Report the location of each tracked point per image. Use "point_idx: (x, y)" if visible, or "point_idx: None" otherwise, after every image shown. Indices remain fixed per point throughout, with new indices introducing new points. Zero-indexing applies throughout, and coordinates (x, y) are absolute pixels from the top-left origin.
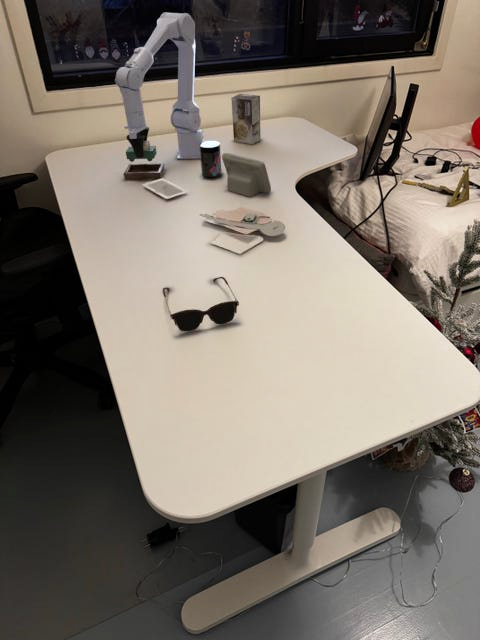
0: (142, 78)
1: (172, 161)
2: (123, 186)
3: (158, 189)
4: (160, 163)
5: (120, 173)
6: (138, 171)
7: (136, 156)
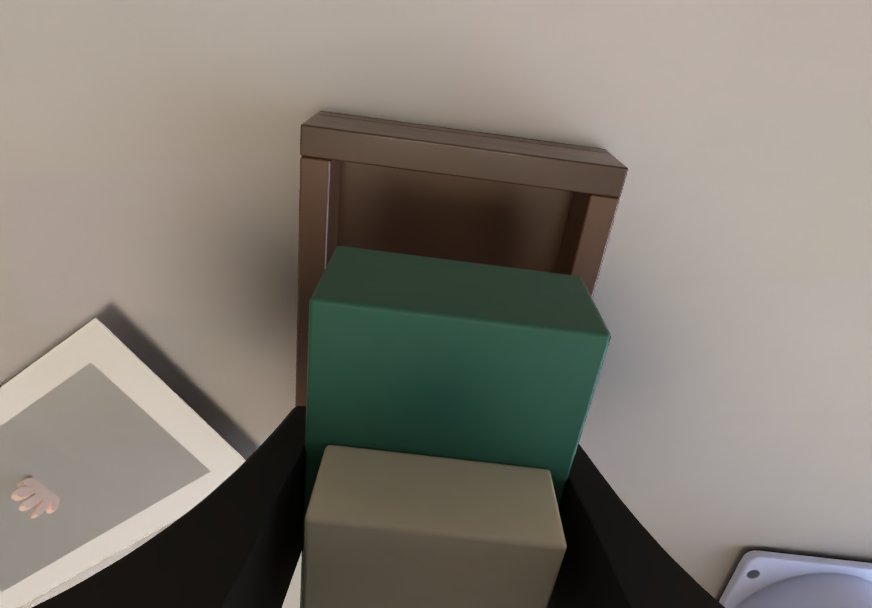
0: None
1: (718, 512)
2: (147, 108)
3: (8, 451)
4: None
5: (559, 22)
6: (508, 253)
7: (288, 414)
